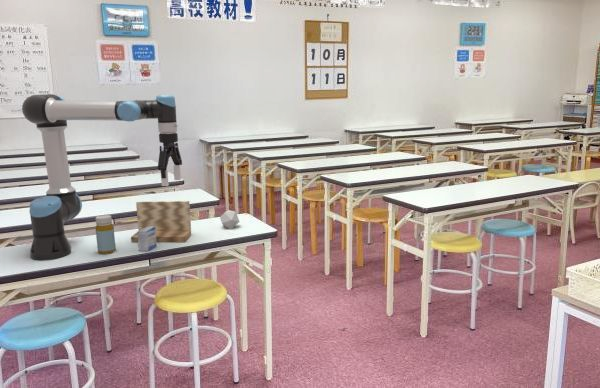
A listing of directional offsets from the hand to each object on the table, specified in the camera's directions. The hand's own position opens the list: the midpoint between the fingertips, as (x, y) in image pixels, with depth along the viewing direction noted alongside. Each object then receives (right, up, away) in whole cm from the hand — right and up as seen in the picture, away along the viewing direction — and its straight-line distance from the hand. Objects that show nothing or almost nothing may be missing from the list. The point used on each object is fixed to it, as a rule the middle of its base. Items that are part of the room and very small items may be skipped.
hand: (171, 183), depth 216 cm
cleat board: (-8, -25, +14) cm, 29 cm away
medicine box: (-10, -28, 0) cm, 30 cm away
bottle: (-26, -29, -3) cm, 39 cm away
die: (+21, -21, +31) cm, 43 cm away
